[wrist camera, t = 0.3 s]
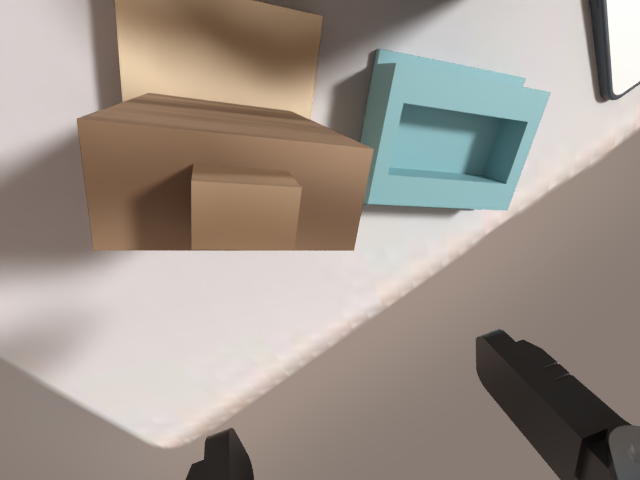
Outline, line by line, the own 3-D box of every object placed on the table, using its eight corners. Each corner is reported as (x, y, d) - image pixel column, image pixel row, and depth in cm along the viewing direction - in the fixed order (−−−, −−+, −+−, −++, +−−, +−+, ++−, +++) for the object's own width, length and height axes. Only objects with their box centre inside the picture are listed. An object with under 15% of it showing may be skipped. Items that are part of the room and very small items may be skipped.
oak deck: (120, -23, 21) (112, -32, 19) (314, 19, 24) (323, 15, 23) (137, 228, 27) (132, 239, 25) (290, 231, 31) (295, 241, 29)
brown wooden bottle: (148, 92, 22) (47, 128, 8) (290, 110, 25) (400, 161, 11) (151, 157, 23) (72, 283, 9) (285, 167, 26) (374, 275, 12)
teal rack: (376, 49, 26) (399, 46, 23) (520, 77, 31) (555, 78, 28) (349, 201, 31) (365, 215, 28) (477, 207, 35) (503, 220, 32)
